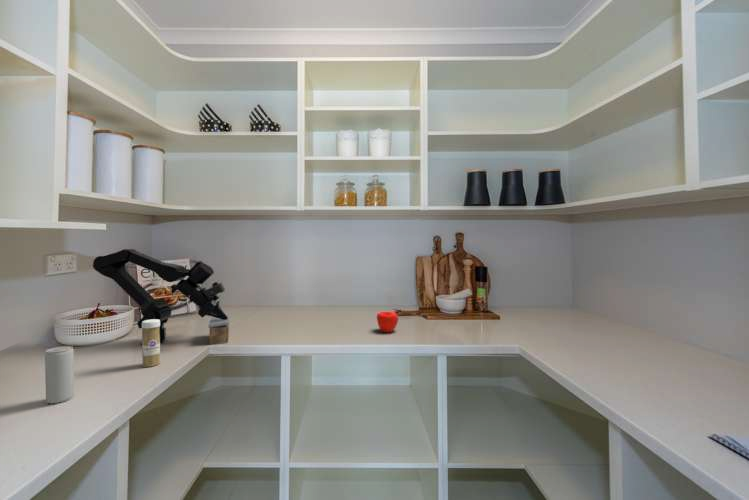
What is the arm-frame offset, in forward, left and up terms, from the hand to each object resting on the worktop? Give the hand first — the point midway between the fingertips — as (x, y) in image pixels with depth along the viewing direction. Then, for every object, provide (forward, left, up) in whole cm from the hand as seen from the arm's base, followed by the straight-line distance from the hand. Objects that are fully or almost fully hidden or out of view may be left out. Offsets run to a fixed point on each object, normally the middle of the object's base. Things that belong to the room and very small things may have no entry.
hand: (226, 319), depth 124 cm
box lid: (-3, 0, -1) cm, 3 cm away
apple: (+62, -13, -8) cm, 64 cm away
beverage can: (-34, -39, -8) cm, 52 cm away
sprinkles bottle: (-20, -21, -8) cm, 30 cm away
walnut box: (-3, 0, -8) cm, 8 cm away
